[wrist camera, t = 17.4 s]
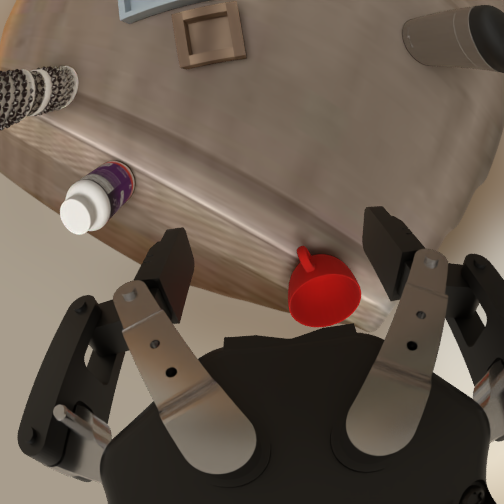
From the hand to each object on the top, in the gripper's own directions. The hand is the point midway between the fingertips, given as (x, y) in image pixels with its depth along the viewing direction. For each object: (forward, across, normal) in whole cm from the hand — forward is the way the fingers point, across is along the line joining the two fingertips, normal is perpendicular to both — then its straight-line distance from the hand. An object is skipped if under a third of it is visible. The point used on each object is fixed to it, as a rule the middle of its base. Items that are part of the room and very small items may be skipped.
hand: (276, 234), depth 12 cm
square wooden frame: (+32, +5, -16) cm, 36 cm away
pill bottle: (+32, +26, +4) cm, 42 cm away
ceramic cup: (+32, -7, +26) cm, 42 cm away
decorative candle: (+32, +33, -17) cm, 49 cm away
